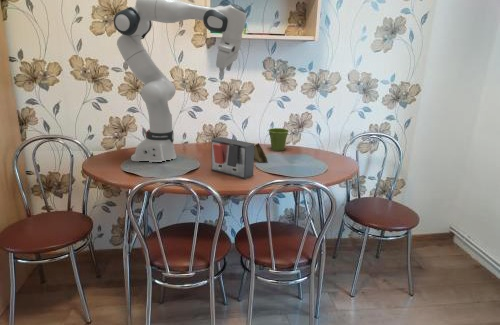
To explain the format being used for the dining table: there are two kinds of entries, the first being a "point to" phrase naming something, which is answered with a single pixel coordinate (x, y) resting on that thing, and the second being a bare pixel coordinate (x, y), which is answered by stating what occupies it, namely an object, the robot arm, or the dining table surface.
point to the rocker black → (232, 155)
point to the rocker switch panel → (243, 158)
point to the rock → (259, 154)
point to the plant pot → (278, 138)
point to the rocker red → (218, 153)
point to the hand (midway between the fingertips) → (224, 72)
